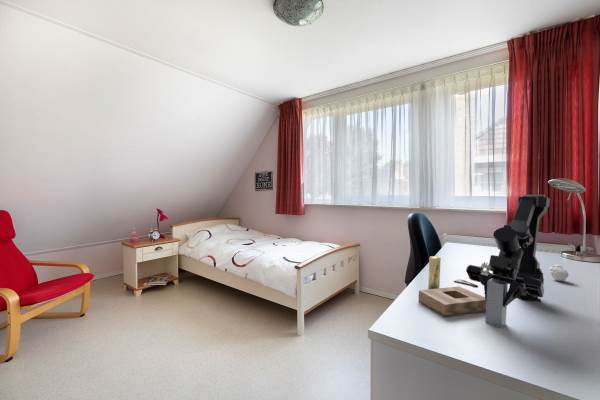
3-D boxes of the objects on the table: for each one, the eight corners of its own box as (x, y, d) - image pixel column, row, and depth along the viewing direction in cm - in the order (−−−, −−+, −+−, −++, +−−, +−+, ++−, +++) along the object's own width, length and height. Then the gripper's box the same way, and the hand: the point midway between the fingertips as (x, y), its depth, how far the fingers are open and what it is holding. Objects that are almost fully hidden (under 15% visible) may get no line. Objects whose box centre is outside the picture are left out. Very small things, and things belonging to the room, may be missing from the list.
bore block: (459, 296, 100) (459, 286, 100) (489, 311, 89) (489, 299, 89) (418, 301, 96) (418, 290, 96) (444, 317, 84) (445, 304, 84)
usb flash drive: (478, 287, 111) (478, 285, 111) (468, 288, 110) (469, 286, 110) (460, 280, 120) (460, 278, 120) (451, 281, 118) (451, 279, 118)
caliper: (480, 274, 129) (481, 261, 129) (480, 273, 130) (481, 260, 130) (536, 283, 118) (536, 269, 117) (535, 282, 119) (536, 268, 118)
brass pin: (436, 287, 109) (438, 256, 109) (440, 291, 105) (442, 259, 105) (426, 287, 110) (427, 256, 109) (430, 290, 106) (431, 258, 105)
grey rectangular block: (490, 319, 83) (492, 278, 83) (505, 324, 80) (507, 281, 79) (485, 323, 81) (487, 280, 80) (501, 328, 78) (503, 284, 77)
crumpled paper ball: (558, 278, 124) (559, 263, 123) (572, 283, 117) (573, 267, 117) (544, 277, 124) (545, 262, 124) (557, 283, 117) (558, 267, 117)
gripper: (469, 240, 89) (453, 279, 83) (544, 251, 74) (531, 300, 68) (477, 260, 94) (463, 298, 88) (548, 274, 80) (537, 321, 73)
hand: (494, 303), depth 79 cm, fingers open, 4 cm apart
